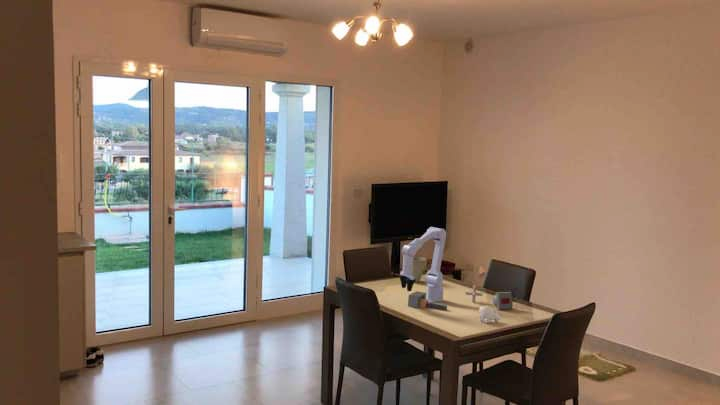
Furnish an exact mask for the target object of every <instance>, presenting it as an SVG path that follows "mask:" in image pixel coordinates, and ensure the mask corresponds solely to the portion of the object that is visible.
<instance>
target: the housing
mask: <svg viewBox="0 0 720 405" xmlns="http://www.w3.org/2000/svg"><path fill="white" fill-rule="evenodd" d="M407 298H408V300H407V301H408V302H407V307H411V308H416V309H418V308H420V299H421V298H424V299H426V298H427V292H424V291H418V290H416V291H414V292H412V293H409V294H408V297H407Z"/></svg>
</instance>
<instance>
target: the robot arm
mask: <svg viewBox="0 0 720 405" xmlns="http://www.w3.org/2000/svg"><path fill="white" fill-rule="evenodd" d="M446 238H447V231H446V230H445V228H439V227H434V226H430V227H428V228H427V230H426V232H424V233H423V235H421V237H419V238H414V240H412V241H410V242H409V243H408V244H404V245H403V246H402V249H401V254H402V259H403V260H402V270H400V273H399V274H400V275H398V277H399V281H400V285H401V288H402V289H406V291H407V292H412V290H413V286H414V284H415V283H414V282H415V281H416V280H415V279H414V276H413V274H412V272H413V257H415V255H416V254H417V252H418V250H419V249H421V248H422V247H423V245H424V243H426V242H427V241H429V240H432V241H433V242H434V243H435V244H434V250H433V256H432V261H431V266H430V269H429V270H428V271H427V272H426V275H425V277H424V282H425V284H426V286H427V287H426V289H427V290H426V299H428V302H430V303H438V302H439V303H440V302H444V301H445V300H444V288H443V286H442V285H443V282H444V278H443V276H444V275H443V273H442V272H441V266H442V260H443V254H444V248H445V245H446V240H447V239H446ZM408 278H409V279H408Z"/></svg>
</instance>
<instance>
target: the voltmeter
mask: <svg viewBox="0 0 720 405" xmlns="http://www.w3.org/2000/svg"><path fill="white" fill-rule="evenodd" d="M517 289H518V287H515V288H514V289H513V290H512V291H501V292H499V291H498V292H495V294H494V296H493V298H492V303H493V305H494V306H495V307H496V310H497V309H498V310H497V311H499V310H500V311H501V310H502V309H503V310H512V309H513V303H515V302H516V301H517V299H515V297H517V294H516V293H515V292H516V291H515V290H517Z"/></svg>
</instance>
